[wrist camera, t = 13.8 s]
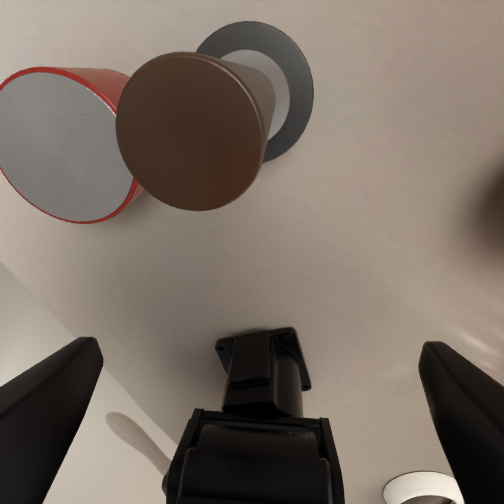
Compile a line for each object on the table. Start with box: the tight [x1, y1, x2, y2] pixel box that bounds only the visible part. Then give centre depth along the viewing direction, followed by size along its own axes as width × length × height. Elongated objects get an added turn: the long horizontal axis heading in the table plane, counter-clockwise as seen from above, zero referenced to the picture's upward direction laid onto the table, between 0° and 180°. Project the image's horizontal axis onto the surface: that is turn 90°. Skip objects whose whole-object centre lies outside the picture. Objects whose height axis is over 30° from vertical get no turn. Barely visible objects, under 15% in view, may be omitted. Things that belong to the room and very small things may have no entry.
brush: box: [115, 21, 314, 211], centre depth 12 cm, size 6×6×14 cm
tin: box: [0, 67, 146, 224], centre depth 17 cm, size 7×7×5 cm
